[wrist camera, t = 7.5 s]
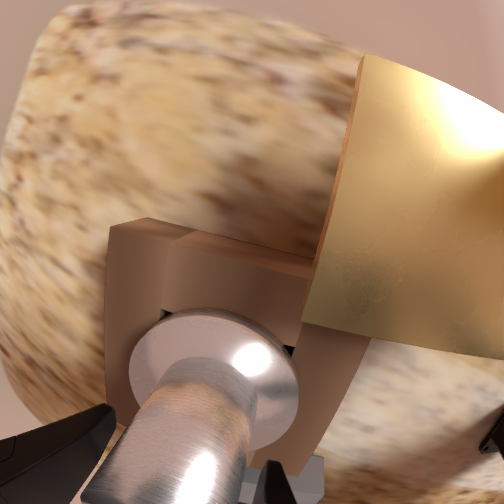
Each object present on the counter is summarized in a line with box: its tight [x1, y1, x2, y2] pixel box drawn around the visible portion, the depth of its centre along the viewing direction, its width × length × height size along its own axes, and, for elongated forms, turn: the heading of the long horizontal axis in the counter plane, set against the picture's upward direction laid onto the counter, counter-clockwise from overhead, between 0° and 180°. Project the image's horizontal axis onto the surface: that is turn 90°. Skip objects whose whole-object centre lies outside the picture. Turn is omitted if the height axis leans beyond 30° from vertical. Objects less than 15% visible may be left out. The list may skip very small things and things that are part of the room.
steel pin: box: [80, 307, 299, 504], centre depth 9 cm, size 6×6×10 cm
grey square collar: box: [238, 456, 324, 504], centre depth 15 cm, size 10×10×3 cm
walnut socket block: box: [104, 217, 371, 477], centre depth 13 cm, size 10×10×3 cm
